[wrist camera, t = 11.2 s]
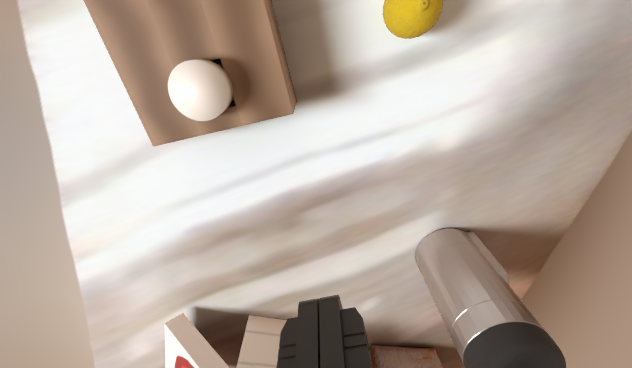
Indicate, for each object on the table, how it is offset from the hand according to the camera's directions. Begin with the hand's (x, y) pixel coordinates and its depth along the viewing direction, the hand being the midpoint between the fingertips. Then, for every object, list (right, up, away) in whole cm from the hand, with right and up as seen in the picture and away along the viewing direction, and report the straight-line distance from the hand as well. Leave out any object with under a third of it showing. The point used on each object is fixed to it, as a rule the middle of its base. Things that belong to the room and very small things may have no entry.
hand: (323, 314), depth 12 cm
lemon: (+9, +24, +23) cm, 35 cm away
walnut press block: (-13, +23, +24) cm, 35 cm away
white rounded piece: (-12, +17, +25) cm, 33 cm away
